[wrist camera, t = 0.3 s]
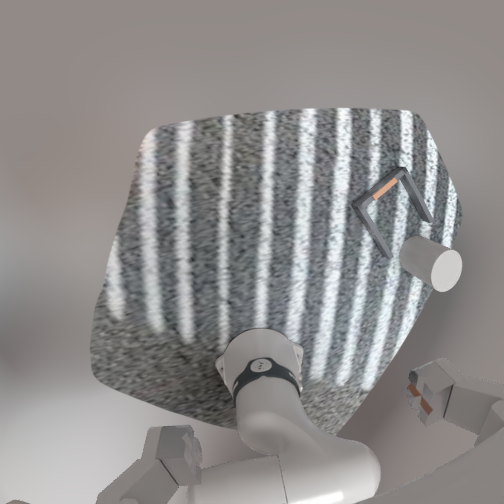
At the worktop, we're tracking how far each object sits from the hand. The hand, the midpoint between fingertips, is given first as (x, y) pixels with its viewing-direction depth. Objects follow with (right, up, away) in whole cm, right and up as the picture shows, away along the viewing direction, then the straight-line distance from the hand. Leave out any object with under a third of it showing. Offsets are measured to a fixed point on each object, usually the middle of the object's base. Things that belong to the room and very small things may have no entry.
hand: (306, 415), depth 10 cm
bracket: (+26, +13, +47) cm, 56 cm away
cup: (+33, +5, +50) cm, 60 cm away
